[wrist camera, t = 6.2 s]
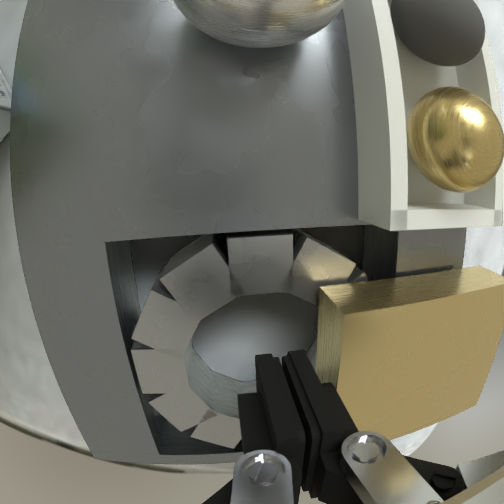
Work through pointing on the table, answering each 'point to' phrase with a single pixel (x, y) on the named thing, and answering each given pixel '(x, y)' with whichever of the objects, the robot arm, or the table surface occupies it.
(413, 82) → the parts tray
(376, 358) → the brass cover
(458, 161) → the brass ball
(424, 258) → the bearing plate
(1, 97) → the tea box
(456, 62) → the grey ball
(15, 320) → the table surface
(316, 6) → the steel ball
